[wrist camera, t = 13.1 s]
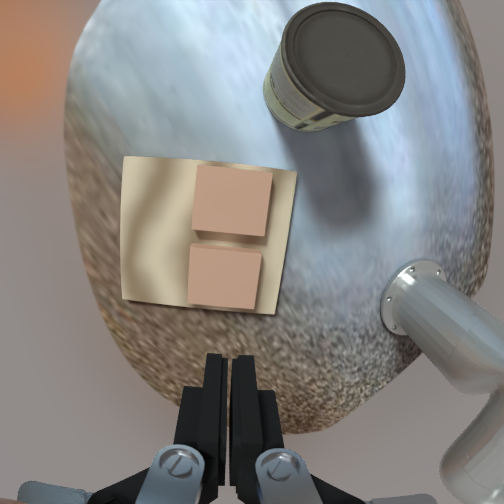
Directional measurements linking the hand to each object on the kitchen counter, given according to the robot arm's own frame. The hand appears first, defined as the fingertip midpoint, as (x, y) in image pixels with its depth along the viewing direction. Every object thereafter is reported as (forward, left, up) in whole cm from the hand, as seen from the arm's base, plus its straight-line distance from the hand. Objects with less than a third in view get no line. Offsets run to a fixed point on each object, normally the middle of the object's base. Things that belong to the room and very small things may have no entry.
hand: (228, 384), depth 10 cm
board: (+3, +1, -26) cm, 26 cm away
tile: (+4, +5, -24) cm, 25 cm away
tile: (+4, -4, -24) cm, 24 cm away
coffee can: (-7, -18, -26) cm, 32 cm away
